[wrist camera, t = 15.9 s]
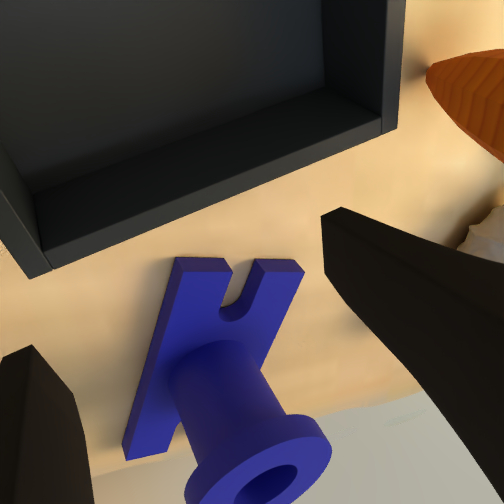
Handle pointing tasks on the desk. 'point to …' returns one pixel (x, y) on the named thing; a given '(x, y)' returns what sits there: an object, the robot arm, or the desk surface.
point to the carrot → (473, 95)
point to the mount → (225, 387)
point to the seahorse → (487, 237)
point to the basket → (175, 108)
